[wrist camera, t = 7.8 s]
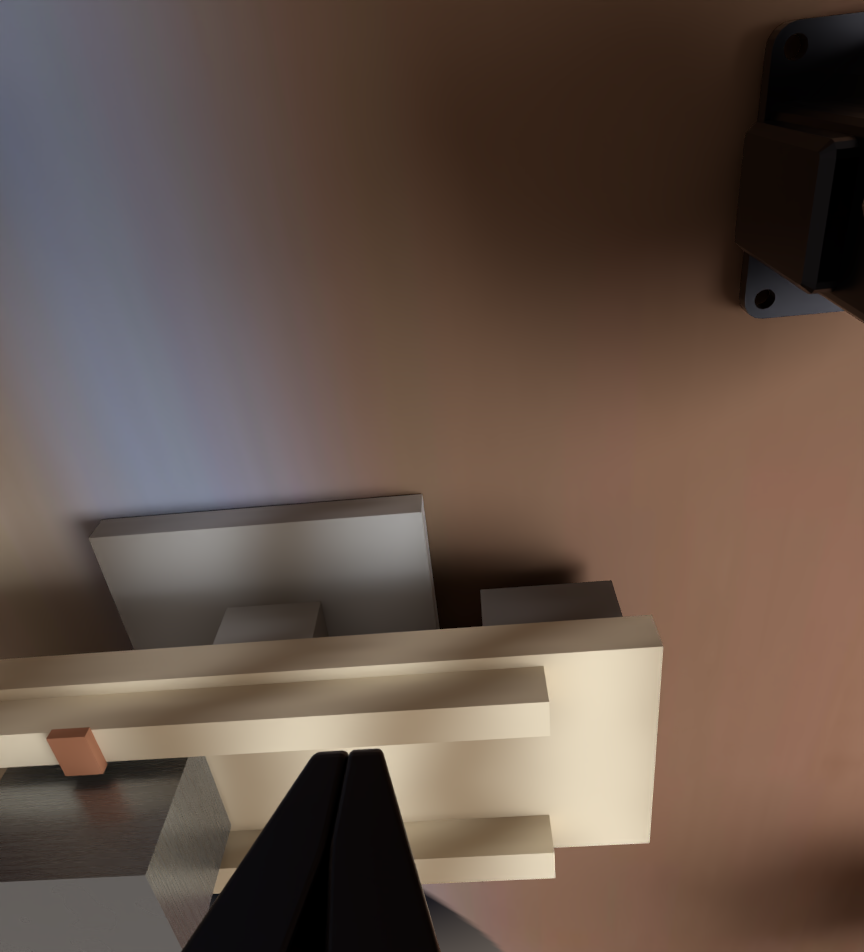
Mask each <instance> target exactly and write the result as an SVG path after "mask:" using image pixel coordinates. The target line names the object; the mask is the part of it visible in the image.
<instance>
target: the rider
mask: <svg viewBox="0 0 864 952" xmlns="http://www.w3.org/2000/svg"><path fill="white" fill-rule="evenodd" d="M107 764H108V765H107V767H106V769H105V771H104V773H103V774H96V775H78V776H65V774H64V772H63V770H62V768H61V767H60V765H42V766H25V767H8V768H7V770H6V771H5V773H4V775H3V776H2V778H1V780H0V952H181V951H182V949H183V948H184V946H185V945H186V943H187V942H188V940H189V939H190V937H191V936H192V934H193V933H194V931H195V930H196V928H197V927H198V925H199V924H200V922H201V921H202V919H203V918H204V916H205V915H206V913H207V912H208V909H209V905H210V901H211V898H212V894H213V890H214V887H215V883H216V880H217V876H218V872H219V869H220V865H221V861H222V858H223V854H224V851H225V847H226V843H227V840H228V836H229V833H230V829H231V823H230V820H229V818H228V815H227V812H226V810H225V807H224V805H223V802H222V799H221V797H220V794H219V791H218V789H217V786H216V783H215V781H214V778H213V776H212V773H211V770H210V768H209V765H208V762H207V760H206V757H205V756H197V757H180V758H163V759H145V760H128V761H111V762H107Z"/></svg>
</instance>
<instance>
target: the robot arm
mask: <svg viewBox="0 0 864 952" xmlns="http://www.w3.org/2000/svg"><path fill="white" fill-rule="evenodd" d="M794 34H796V35H797V36H798V37H799V38H800V44H801V46H800V49H799V52H798V53H797V54H796V56H795V57H794V58H792V59H790V60H788V59H787V58H786V56H785V55H784V46H785V43H786V41H787V40H788V39H789V37H790V36H791V35H794ZM735 243H736V244H737V245H738V246H739V247H740V248H741V249H742V250H743V251H744V255H743V264H742V274H741V283H740V293H739V300H740V305H741V306H742V308H743V309H744V310H745V311H746V312H747V313H748V314H749V315H751V316H753V317H755V318H762V319H763V318H774V317H784V316H795V315H806V314H817V313H827V312H838V311H846V312H847V313H849V314H851V315H852V316H854V317H855V318H857V319H858V320H860V321H861V322H863V323H864V12H858V13H849V14H841V15H832V16H824V17H815V18H807V19H799V20H791V21H788V22H785V23H782V24H781V25H780V26H779V27H777V28H776V29H775V30H774V31H773V32H772V34H771V36H770V37H769V39H768V41H767V45H766V48H765V55H764V65H763V74H762V84H761V93H760V103H759V112H758V122H755V123H754V124H753V125H752V126H751V128H750V129H749V130H748V131H747V132H746V134H745V138H744V148H743V159H742V169H741V179H740V189H739V199H738V209H737V220H736V230H735ZM765 289H769V296H768V299H767V300H766V301H765V302H764V303H761V304H758V305H757V304H755V301H754V300H755V297H756V295H757V294H758V293H759V292H760V291H762V290H765ZM181 952H441V951H440V948H439V944H438V941H437V937H436V934H435V930H434V927H433V923H432V920H431V917H430V913H429V909H428V906H427V902H426V899H425V895H424V892H423V888H422V885H421V882H420V878H419V875H418V871H417V868H416V864H415V861H414V857H413V854H412V850H411V847H410V843H409V840H408V836H407V833H406V829H405V826H404V822H403V819H402V815H401V812H400V808H399V805H398V802H397V798H396V795H395V791H394V788H393V784H392V781H391V777H390V774H389V770H388V767H387V763H386V760H385V756H384V753H383V751H382V750H381V749H378V748H374V749H357V750H352V751H351V752H350V753H349V754H348V753H347V752H346V751H343V750H340V751H323V752H317V753H316V754H314V755H313V756H312V757H311V758H310V760H309V761H308V763H307V764H306V766H305V767H304V769H303V770H302V771H301V773H300V774H299V776H298V777H297V779H296V780H295V782H294V783H293V785H292V786H291V788H290V789H289V791H288V792H287V794H286V795H285V797H284V798H283V800H282V801H281V803H280V804H279V806H278V807H277V809H276V810H275V812H274V813H273V815H272V816H271V818H270V819H269V821H268V822H267V824H266V825H265V827H264V828H263V830H262V831H261V833H260V834H259V836H258V837H257V839H256V840H255V842H254V843H253V845H252V846H251V848H250V849H249V851H248V852H247V854H246V855H245V857H244V858H243V860H242V861H241V863H240V864H239V866H238V867H237V869H236V870H235V872H234V873H233V875H232V876H231V878H230V879H229V881H228V882H227V884H226V885H225V887H224V888H223V890H222V891H221V893H220V894H219V896H218V897H217V899H216V900H215V902H214V903H213V905H212V906H211V908H210V909H209V910H208V912H207V913H206V915H205V916H204V918H203V919H202V921H201V922H200V924H199V925H198V927H197V928H196V930H195V931H194V933H193V934H192V936H191V937H190V939H189V940H188V942H187V943H186V945H185V946H184V948H183V949H182V951H181Z"/></svg>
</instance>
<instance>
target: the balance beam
mask: <svg viewBox="0 0 864 952" xmlns="http://www.w3.org/2000/svg"><path fill="white" fill-rule="evenodd" d="M89 541H90V543H91V546H92V548H93V551H94V553H95V556H96V558H97V560H98V563H99V565H100V568H101V570H102V573H103V575H104V578H105V580H106V583H107V585H108V587H109V590H110V592H111V595H112V597H113V600H114V602H115V605H116V607H117V610H118V612H119V615H120V617H121V619H122V622H123V624H124V627H125V629H126V632H127V634H128V637H129V639H130V642H131V644H132V646H133V649H134V650H129V651H114V652H100V653H85V654H70V655H56V656H41V657H26V658H12V659H0V780H1V778H2V776H3V775H4V773H5V771H6V770H7V768H8V767H25V766H42V765H60V767H61V768H62V770H63V772H64V774H65V776H78V775H96V774H103V773H104V771H105V769H106V767H107V765H108V764H107V762H111V761H128V760H145V759H163V758H180V757H197V756H205V757H206V760H207V762H208V765H209V768H210V770H211V773H212V776H213V778H214V781H215V783H216V786H217V789H218V791H219V794H220V797H221V799H222V802H223V805H224V807H225V810H226V812H227V815H228V818H229V820H230V823H231V829H230V833H229V836H228V840H227V843H226V847H225V851H224V854H223V858H222V861H221V865H220V869H219V872H218V876H217V880H216V883H215V887H214V890H213V894H214V893H221V891H222V890H223V888H224V887H225V885H226V884H227V882H228V881H229V879H230V878H231V876H232V875H233V873H234V872H235V870H236V869H237V867H238V866H239V864H240V863H241V861H242V860H243V858H244V857H245V855H246V854H247V852H248V851H249V849H250V848H251V846H252V845H253V843H254V842H255V840H256V839H257V837H258V836H259V834H260V833H261V831H262V830H263V828H264V827H265V825H266V824H267V822H268V821H269V819H270V818H271V816H272V815H273V813H274V812H275V810H276V809H277V807H278V806H279V804H280V803H281V801H282V800H283V798H284V797H285V795H286V794H287V792H288V791H289V789H290V788H291V786H292V785H293V783H294V782H295V780H296V779H297V777H298V776H299V774H300V773H301V771H302V770H303V769H304V767H305V766H306V764H307V763H308V761H309V760H310V758H311V757H312V756H313V755H314V754H316V753H317V752H323V751H340V750H343V751H346V752H347V753H348V754H349V753H350V752H351V751H352V750H357V749H374V748H378V749H381V750H382V751H383V753H384V756H385V760H386V763H387V767H388V770H389V774H390V777H391V781H392V784H393V788H394V791H395V795H396V798H397V802H398V805H399V808H400V812H401V815H402V819H403V822H404V826H405V829H406V833H407V836H408V840H409V843H410V847H411V850H412V854H413V857H414V861H415V864H416V868H417V871H418V875H419V878H420V882H421V884H435V883H456V882H478V881H500V880H522V879H544V878H555V857H554V848H556V847H576V846H597V845H618V844H639V843H649V842H650V828H651V814H652V799H653V785H654V771H655V756H656V742H657V728H658V714H659V699H660V685H661V671H662V657H663V645H662V642H661V639H660V636H659V634H658V631H657V628H656V626H655V623H654V620H653V617H652V615H643V616H628V617H623V616H622V613H621V610H620V607H619V603H618V600H617V597H616V594H615V591H614V587H613V584H612V581H611V580H610V581H596V582H582V583H568V584H554V585H540V586H526V587H512V588H498V589H484V590H480V593H481V608H482V624H483V626H481V627H467V628H452V629H440V628H439V620H438V613H437V605H436V597H435V589H434V582H433V574H432V566H431V558H430V550H429V543H428V535H427V527H426V519H425V512H424V504H423V496H422V494H417V495H404V496H392V497H380V498H367V499H355V500H342V501H330V502H317V503H305V504H292V505H280V506H267V507H255V508H243V509H230V510H218V511H205V512H193V513H180V514H168V515H155V516H143V517H130V518H118V519H105V520H101V522H100V523H99V525H98V526H97V527H96V529H95V530H94V531H93V533H92V534H91V535H90V537H89Z"/></svg>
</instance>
